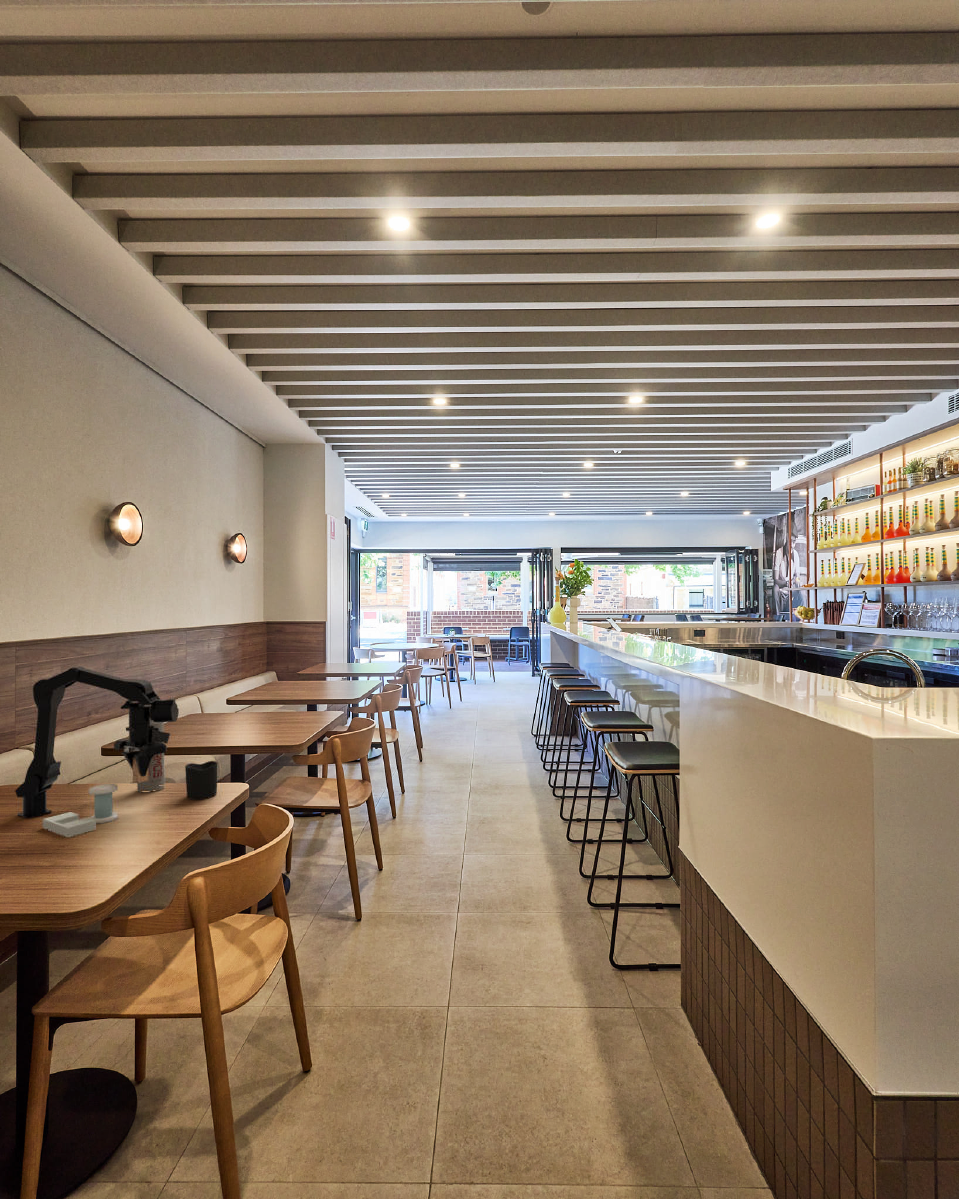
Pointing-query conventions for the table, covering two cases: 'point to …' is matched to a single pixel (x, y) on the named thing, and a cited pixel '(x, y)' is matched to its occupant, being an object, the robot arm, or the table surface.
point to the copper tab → (138, 773)
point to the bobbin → (103, 803)
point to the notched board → (69, 824)
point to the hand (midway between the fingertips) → (140, 775)
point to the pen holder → (201, 780)
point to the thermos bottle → (154, 768)
